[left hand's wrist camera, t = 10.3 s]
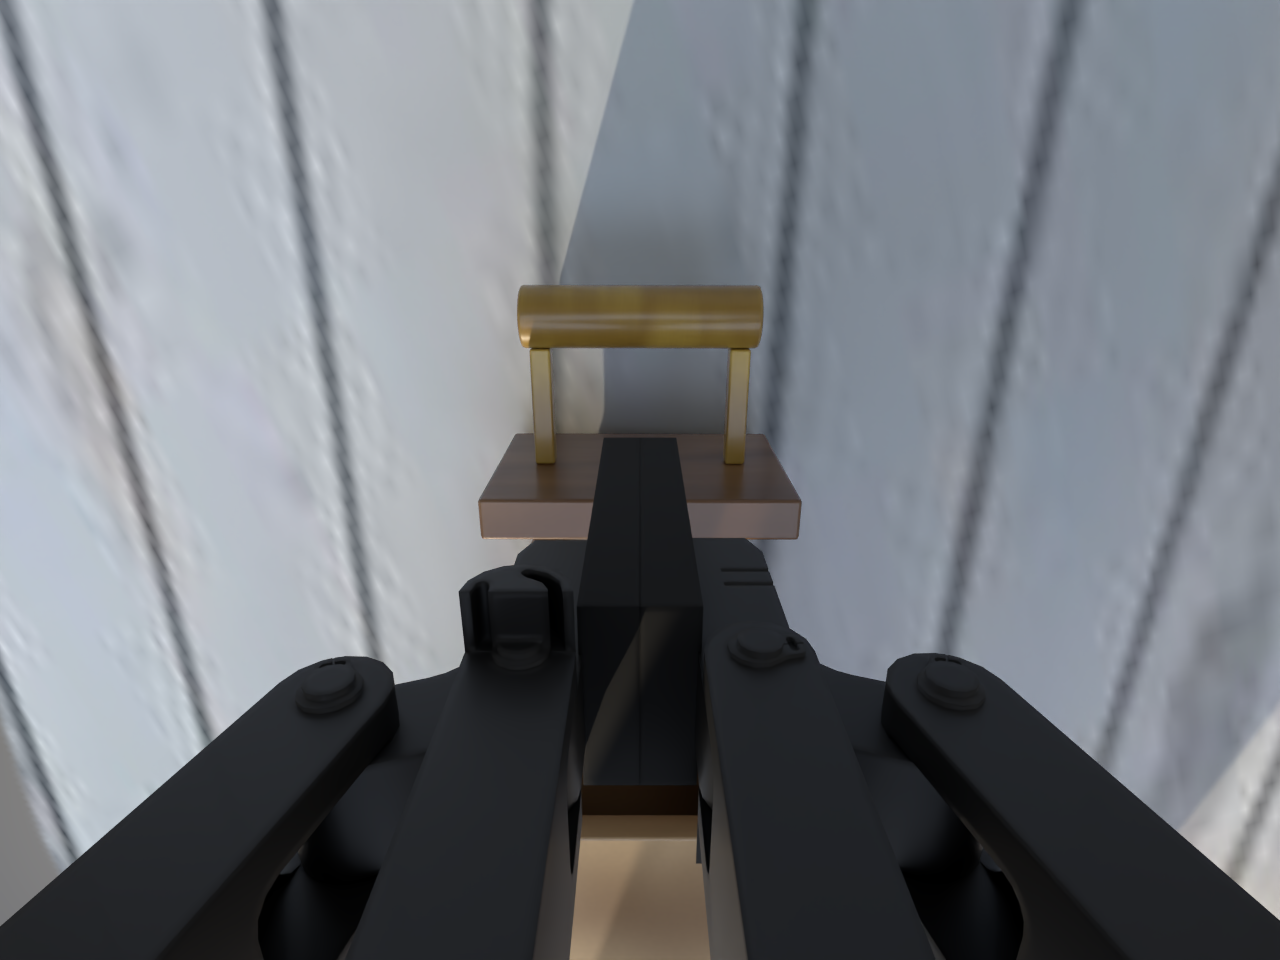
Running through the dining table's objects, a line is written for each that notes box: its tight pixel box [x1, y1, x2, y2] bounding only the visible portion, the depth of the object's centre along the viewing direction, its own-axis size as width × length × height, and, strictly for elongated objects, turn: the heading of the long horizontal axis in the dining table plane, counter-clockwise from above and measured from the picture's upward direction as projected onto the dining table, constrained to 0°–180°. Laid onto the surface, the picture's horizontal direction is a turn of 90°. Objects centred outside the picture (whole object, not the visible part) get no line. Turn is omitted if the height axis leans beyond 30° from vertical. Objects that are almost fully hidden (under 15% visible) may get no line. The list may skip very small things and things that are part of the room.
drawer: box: [478, 285, 802, 815], centre depth 24 cm, size 24×9×6 cm, turn 0°
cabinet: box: [570, 815, 711, 960], centre depth 29 cm, size 20×10×8 cm, turn 0°
